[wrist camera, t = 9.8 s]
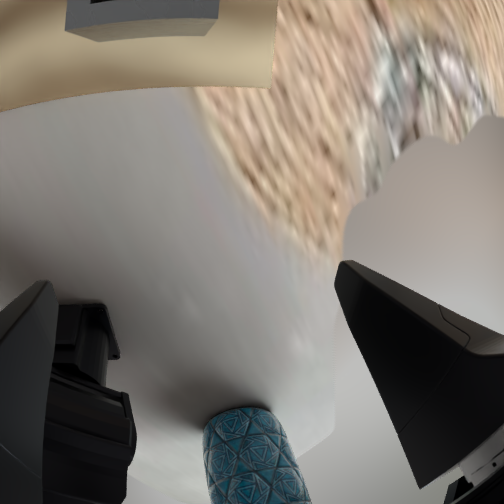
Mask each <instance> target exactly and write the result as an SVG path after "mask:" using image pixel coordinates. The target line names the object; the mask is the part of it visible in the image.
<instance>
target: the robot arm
mask: <svg viewBox="0 0 504 504" xmlns="http://www.w3.org/2000/svg"><path fill="white" fill-rule="evenodd" d="M334 287H335V290H336V293H337V296H338V299H339V301H340V304H341V307H342V309H343V313H344V315H345V318H346V321H347V324H348V326H349V328H350V331H351V333H352V335H353V337H354V339H355V341H356V343H357V345H358V348H359V349H360V352H361V354H362V356H363V358H364V360H365V362H366V365H367V367H368V369H369V371H370V373H371V375H372V378H373V380H374V382H375V384H376V387H377V388H378V391H379V393H380V395H381V398H382V400H383V402H384V405H385V407H386V409H387V411H388V414H389V416H390V418H391V421H392V423H393V425H394V428H395V430H396V432H397V434H398V438H399V440H400V442H401V445H402V447H403V450H404V452H405V454H406V457H407V459H408V462H409V464H410V467H411V469H412V472H413V475H414V477H415V479H416V482H417V485H418V487H419V489H422V488H424V487H426V486H428V485H429V484H431V483H433V482H435V481H436V480H438V479H439V478H441V477H443V476H445V475H446V474H448V473H450V472H451V471H453V470H454V469H456V468H457V467H460V469H461V471H462V473H463V474H464V476H462V477H461V478H459V479H458V480H456V481H455V482H453V483H452V484H450V485H449V486H448V490H447V494H446V497H445V501H444V504H504V335H502V334H499V333H497V332H495V331H493V330H491V329H488V328H487V327H484V326H482V325H480V324H478V323H476V322H474V321H471V320H469V319H467V318H465V317H463V316H460V315H459V314H457V313H455V312H453V311H451V310H449V309H447V308H445V307H443V306H442V305H440V304H437V303H436V302H434V301H432V300H430V299H428V298H426V297H424V296H422V295H420V294H419V293H417V292H414V291H413V290H411V289H409V288H407V287H405V286H403V285H401V284H399V283H397V282H395V281H393V280H391V279H389V278H387V277H385V276H383V275H381V274H379V273H377V272H375V271H373V270H371V269H369V268H367V267H365V266H363V265H361V264H359V263H357V262H355V261H353V260H347V261H341V262H340V263H339V266H338V270H337V274H336V278H335V282H334ZM99 309H101V310H103V311H100V310H99ZM114 354H115V355H114ZM119 358H120V350H119V347H118V344H117V341H116V338H115V334H114V331H113V328H112V324H111V321H110V317H109V314H108V310H107V307H106V306H105V305H103V304H82V305H58V301H57V298H56V295H55V293H54V290H53V287H52V284H51V282H50V281H48V280H42V281H37V282H36V283H34V284H33V285H32V286H31V287H29V288H28V289H27V290H26V291H24V292H23V293H22V294H21V295H20V296H18V297H17V298H16V299H15V300H14V301H12V302H11V303H10V304H9V305H8V306H6V307H5V308H4V309H3V310H2V311H1V312H0V504H121V503H122V502H123V501H124V499H125V497H126V490H127V488H126V487H127V470H128V466H129V465H130V464H131V462H132V460H133V457H134V454H135V450H136V442H137V433H136V427H135V423H134V418H133V414H132V409H131V405H130V400H129V395H128V393H125V392H118V391H115V390H112V389H109V388H107V387H105V385H106V373H107V363H108V360H117V359H119Z"/></svg>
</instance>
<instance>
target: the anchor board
mask: <svg viewBox="0 0 504 504" xmlns="http://www.w3.org/2000/svg"><path fill="white" fill-rule="evenodd" d="M277 6H278V0H220V3H219V15H218V20H217V21H216V22H215V24H214V25H213V26H212V27H211V29H210V30H209V31H208V32H207V34H206V35H205V36H169V37H148V38H135V39H124V40H115V41H107V42H99V43H98V42H95V41H93V40H90V39H87V38H84V37H81V36H78V35H75V34H72V33H69V32H66V31H65V19H66V8H67V0H0V112H2V111H6V110H10V109H14V108H18V107H22V106H27V105H31V104H36V103H40V102H45V101H50V100H56V99H61V98H67V97H73V96H80V95H86V94H94V93H102V92H110V91H120V90H131V89H143V88H160V87H191V86H215V87H247V88H264V89H271V81H272V69H273V56H274V44H275V31H276V19H277Z"/></svg>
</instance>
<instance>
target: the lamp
mask: <svg viewBox="0 0 504 504" xmlns="http://www.w3.org/2000/svg"><path fill="white" fill-rule="evenodd" d="M203 457H204V465H205V472H206V479H207V485H208V490H209V496H210V501H211V504H312V502H311V499H310V497H309V494H308V491H307V488H306V485H305V482H304V479H303V477H302V474H301V472H300V469H299V466H298V463H297V461H296V458H295V456H294V453H293V451H292V448H291V446H290V443H289V441H288V439H287V436H286V434H285V432H284V430H283V428H282V426H281V424H280V422H279V421H278V419H277V418H276V417H275V416H274V415H273V414H272V413H271V412H269V411H267V410H265V409H262V408H257V407H244V408H237V409H232V410H229V411H226V412H223V413H221V414H218V415H217V416H215V417H213V418H212V419H211V420H210V421H209V422H208V423H207V425H206V426H205V428H204V431H203Z"/></svg>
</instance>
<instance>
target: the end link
mask: <svg viewBox="0 0 504 504" xmlns="http://www.w3.org/2000/svg"><path fill="white" fill-rule="evenodd" d="M219 3H220V0H67V8H66V19H65V31H66V32H69V33H72V34H75V35H78V36H81V37H84V38H87V39H90V40H93V41H95V42H98V43H99V42H107V41H115V40H124V39H135V38H148V37H169V36H205V35H206V34H207V32H208V31H209V30H210V29H211V27H212V26H213V25H214V24H215V22H216V21H217V20H218V15H219Z"/></svg>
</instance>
